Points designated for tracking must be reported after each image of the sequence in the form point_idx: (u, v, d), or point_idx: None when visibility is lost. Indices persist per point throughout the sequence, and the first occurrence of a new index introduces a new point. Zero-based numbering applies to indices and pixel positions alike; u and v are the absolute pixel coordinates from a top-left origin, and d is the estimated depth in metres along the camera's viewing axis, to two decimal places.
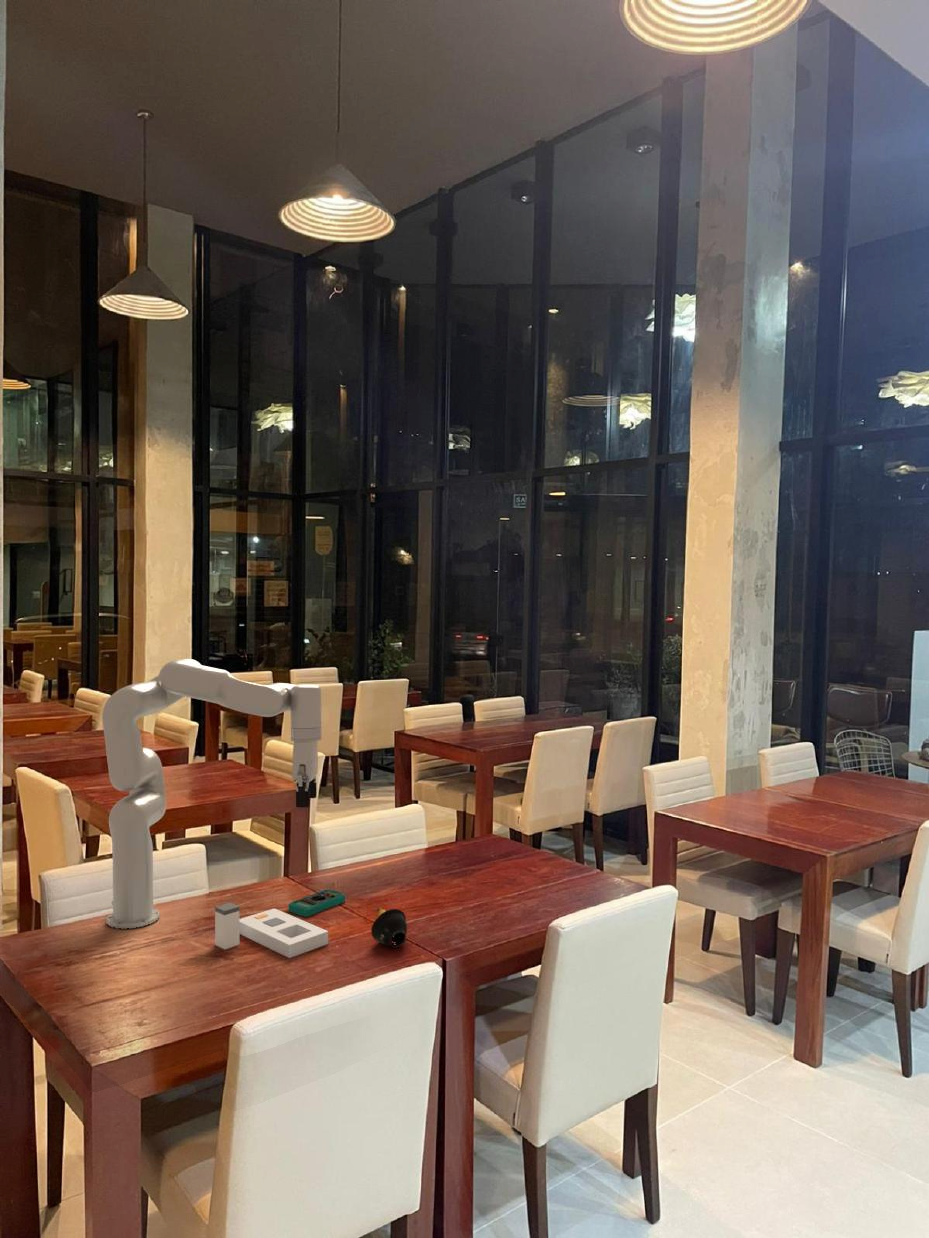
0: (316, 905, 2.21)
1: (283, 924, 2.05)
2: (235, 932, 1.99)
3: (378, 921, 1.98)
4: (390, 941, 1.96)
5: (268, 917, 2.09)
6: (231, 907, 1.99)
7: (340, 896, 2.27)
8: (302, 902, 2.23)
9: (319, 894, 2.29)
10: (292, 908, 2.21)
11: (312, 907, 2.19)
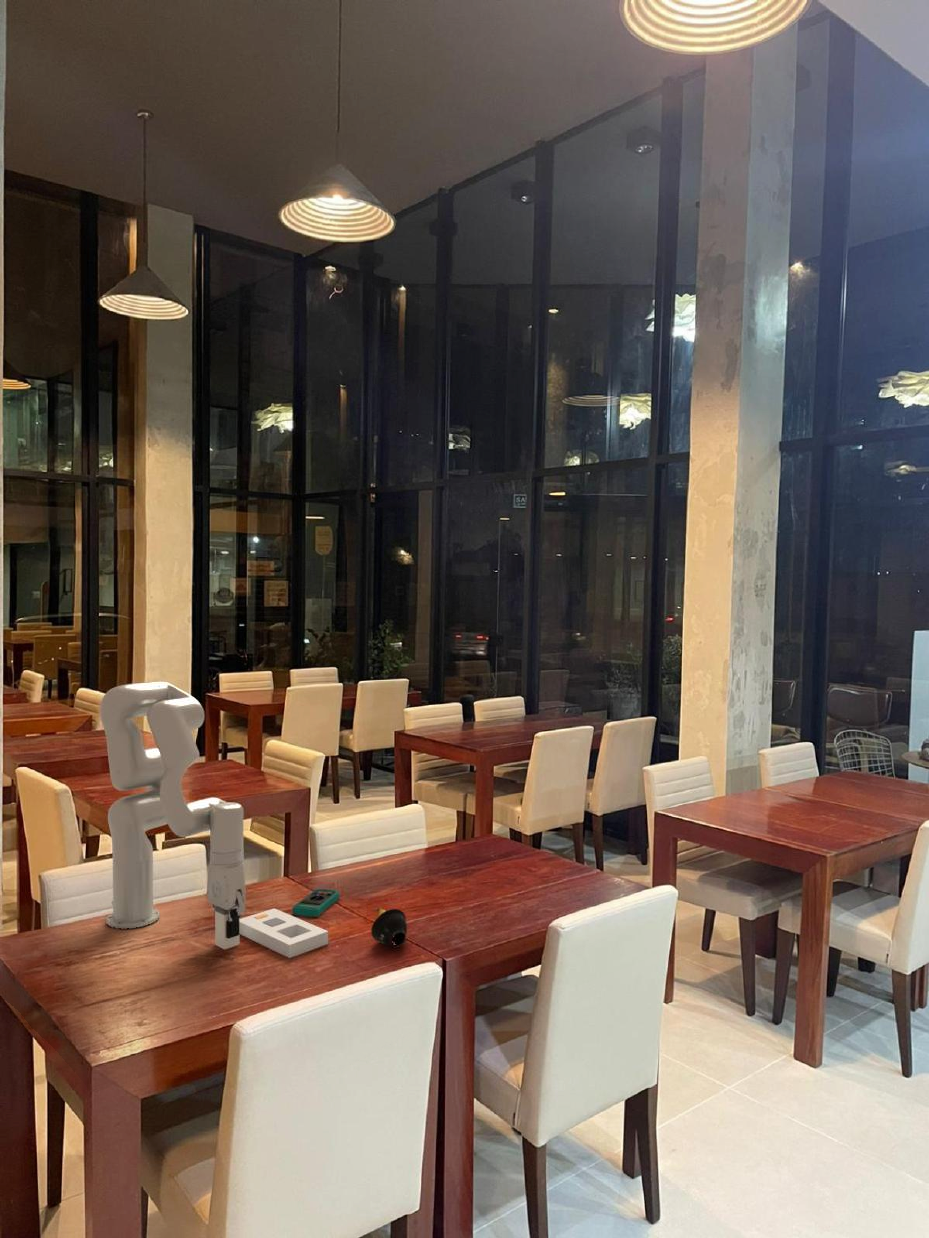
0: (322, 904, 2.21)
1: (283, 924, 2.05)
2: None
3: (377, 921, 1.98)
4: (390, 941, 1.96)
5: (268, 917, 2.09)
6: None
7: (336, 893, 2.29)
8: (304, 904, 2.22)
9: (313, 894, 2.28)
10: (298, 911, 2.19)
11: (320, 907, 2.20)
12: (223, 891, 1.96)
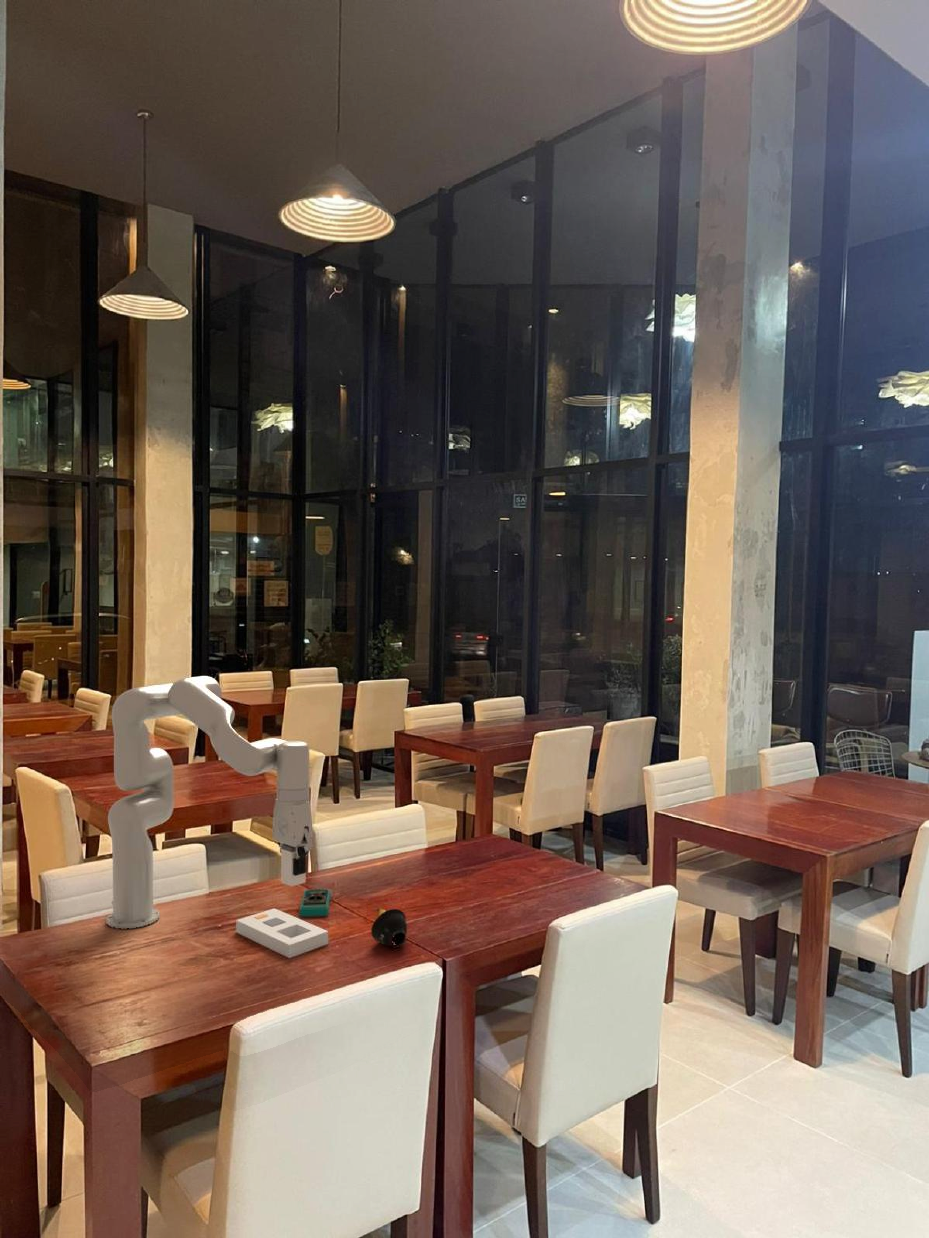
0: (327, 903, 2.22)
1: (283, 924, 2.05)
2: None
3: (377, 921, 1.98)
4: (390, 941, 1.96)
5: (268, 917, 2.09)
6: None
7: (329, 892, 2.31)
8: (308, 905, 2.21)
9: (308, 895, 2.28)
10: (306, 912, 2.18)
11: (327, 905, 2.21)
12: (291, 828, 1.96)
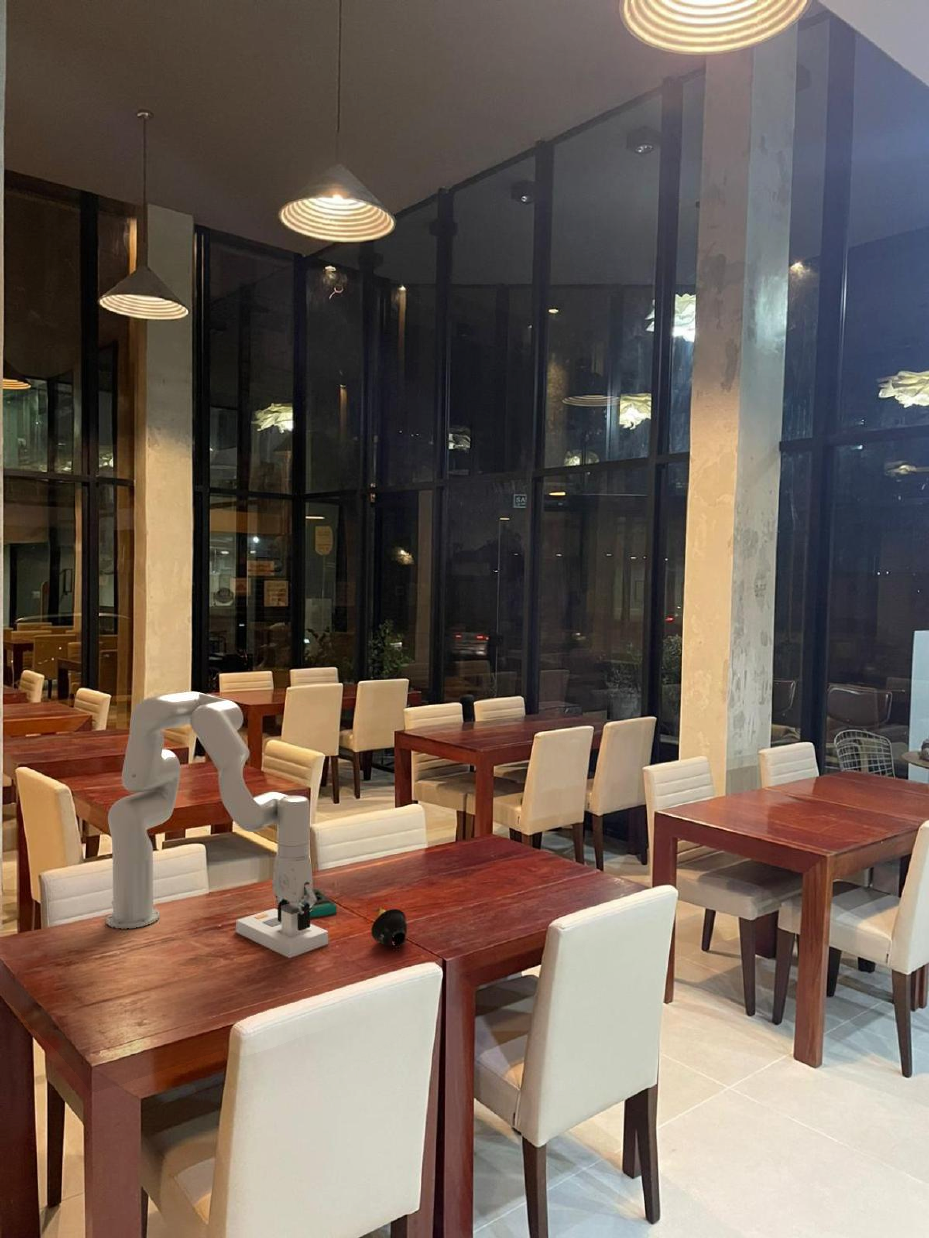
0: (331, 901, 2.24)
1: None
2: (301, 931, 2.00)
3: (377, 921, 1.98)
4: (390, 941, 1.96)
5: (268, 917, 2.09)
6: (297, 906, 2.00)
7: None
8: None
9: None
10: (317, 912, 2.18)
11: (333, 903, 2.22)
12: (291, 884, 1.96)
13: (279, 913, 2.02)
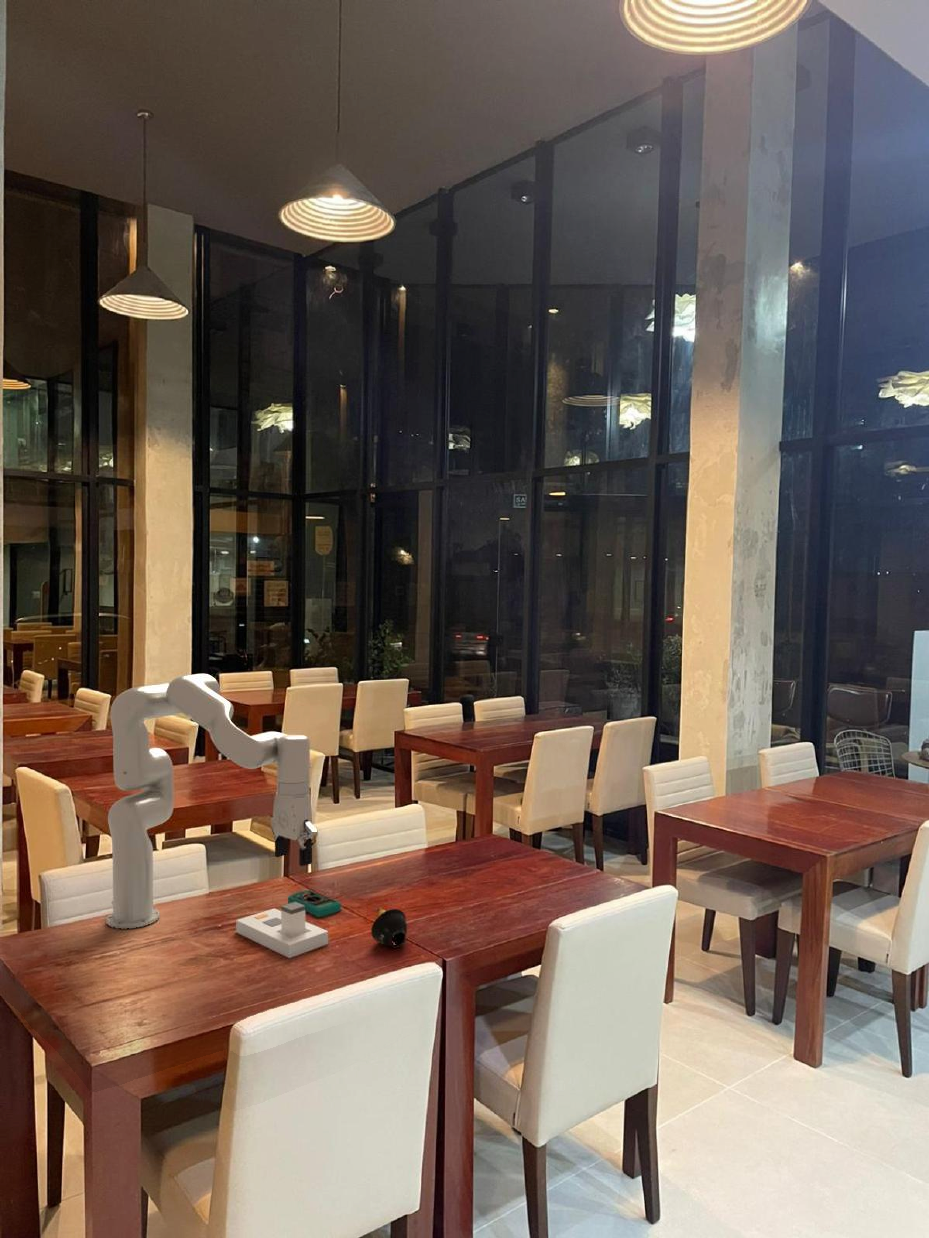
0: None
1: None
2: (301, 931, 2.00)
3: (377, 922, 1.98)
4: (390, 941, 1.96)
5: (268, 917, 2.09)
6: (297, 906, 2.00)
7: None
8: (317, 905, 2.21)
9: (302, 898, 2.25)
10: (325, 911, 2.19)
11: None
12: (291, 821, 1.96)
13: (276, 848, 2.02)
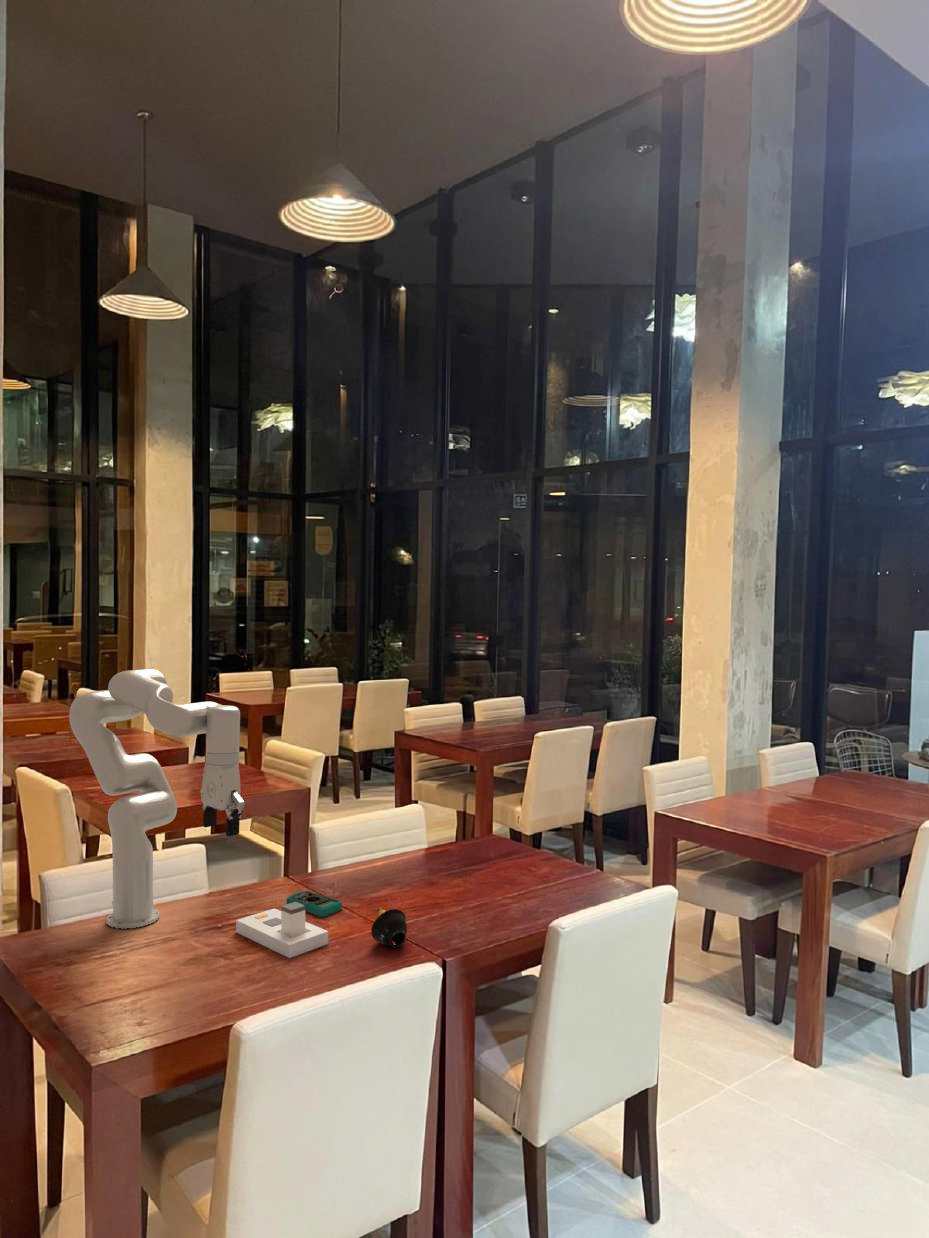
0: None
1: None
2: (301, 931, 2.00)
3: (377, 922, 1.98)
4: (390, 941, 1.96)
5: (268, 917, 2.09)
6: (297, 907, 2.00)
7: None
8: (319, 905, 2.21)
9: (301, 899, 2.25)
10: (328, 911, 2.19)
11: None
12: (218, 791, 1.96)
13: (205, 819, 2.02)
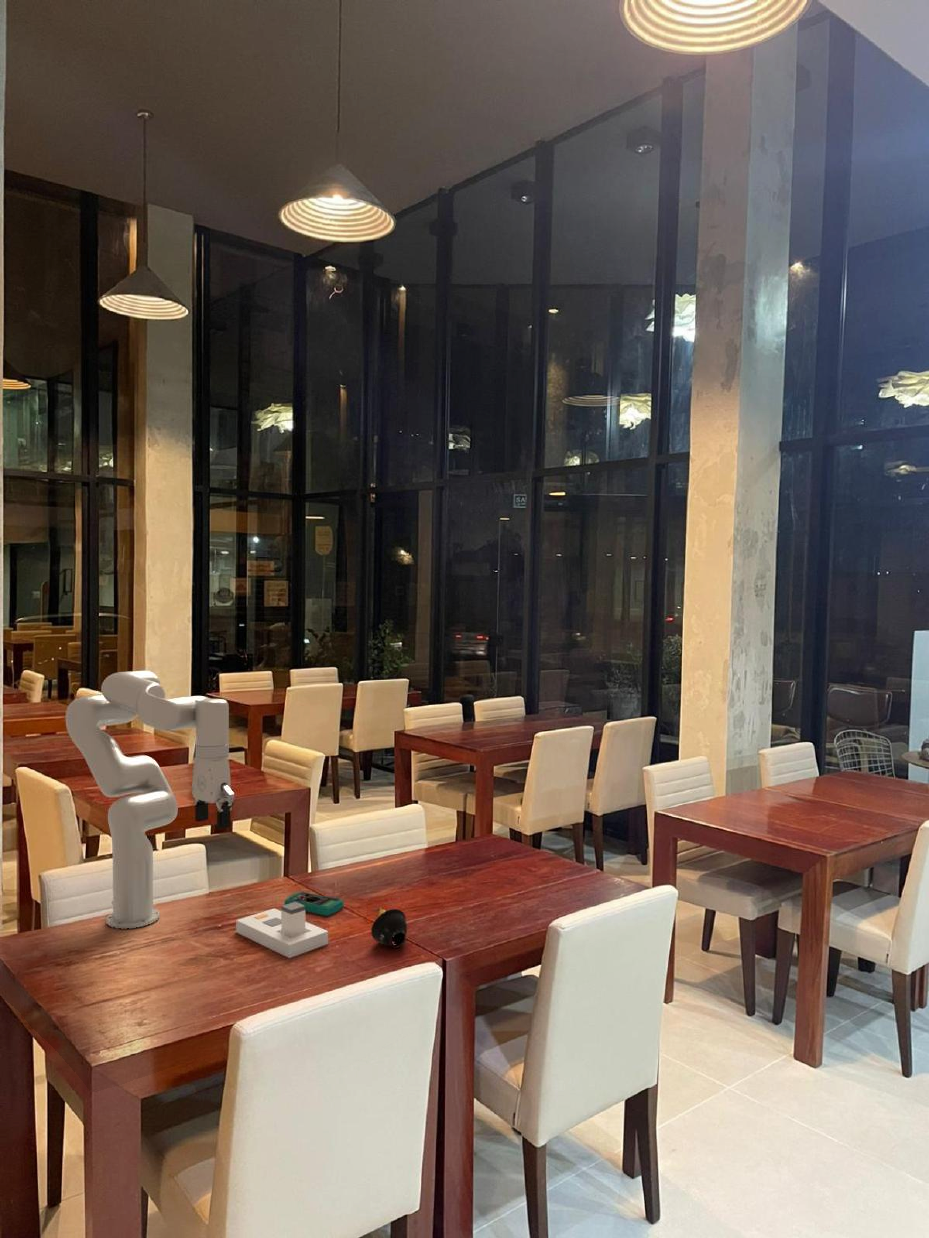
0: None
1: None
2: (301, 931, 2.00)
3: (377, 922, 1.98)
4: (390, 941, 1.96)
5: (268, 917, 2.09)
6: (297, 906, 2.00)
7: None
8: (322, 904, 2.21)
9: (301, 900, 2.24)
10: (332, 909, 2.20)
11: None
12: (208, 784, 1.96)
13: (196, 813, 2.02)
